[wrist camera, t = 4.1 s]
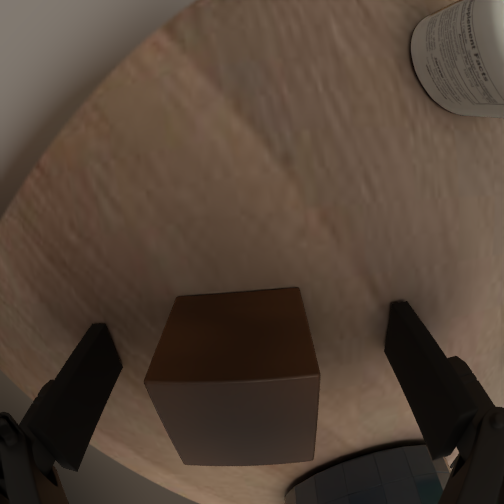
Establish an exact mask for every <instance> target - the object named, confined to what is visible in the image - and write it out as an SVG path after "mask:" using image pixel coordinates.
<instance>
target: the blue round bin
mask: <svg viewBox="0 0 504 504" xmlns="http://www.w3.org/2000/svg"><path fill="white" fill-rule="evenodd" d="M450 474H451V470H450V467H449V465H448V462H447V460H446V458H445V457H443V458H440V459H437V460H434V461H433V460H432V457H431V455H430V452H429V450H428V447H427V445H416V446H404V447H399V448H393V449H387V450H382V451H378V452H374V453H370V454H366V455H363V456H360V457H357V458H354V459H351V460H348V461H345V462H342V463H340V464H337V465H335V466H332V467H330V468H328V469H326V470H324V471H322V472H320V473H317V474H315V475H313V476H311V477H310V478H308V479H306V480H305V481H303V482H301V483H299V484H298V485H296V486H294V487H293V488H292V489H291V490H290V491H289V493H288V494H287V495H286V496H285V504H438V502H439V500H440V498H441V495H442V493H443V491H444V488H445V486H446V484H447V481H448V479H449V476H450Z"/></svg>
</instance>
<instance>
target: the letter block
mask: <svg viewBox="0 0 504 504" xmlns="http://www.w3.org/2000/svg"><path fill="white" fill-rule="evenodd" d="M144 384H145V386H146V389H147V391H148V393H149V395H150V398H151V400H152V402H153V404H154V406H155V408H156V411H157V413H158V415H159V417H160V419H161V421H162V423H163V425H164V427H165V429H166V431H167V433H168V435H169V437H170V439H171V441H172V443H173V445H174V447H175V448H176V450H177V452H178V454H179V456H180V458H181V459H182V461H183V463H184V464H185V465H200V466H254V465H273V464H286V463H296V462H306V461H312V460H313V459H314V451H315V441H316V430H317V418H318V405H319V391H320V370H319V366H318V362H317V358H316V353H315V349H314V345H313V341H312V337H311V333H310V329H309V325H308V321H307V317H306V313H305V309H304V305H303V301H302V297H301V293H300V290H299V288H287V289H276V290H264V291H252V292H239V293H226V294H212V295H197V296H181V297H177V298H176V300H175V303H174V305H173V308H172V310H171V313H170V315H169V317H168V320H167V322H166V325H165V328H164V330H163V333H162V335H161V338H160V340H159V343H158V345H157V348H156V350H155V353H154V356H153V358H152V361H151V364H150V366H149V369H148V372H147V374H146V377H145V380H144Z"/></svg>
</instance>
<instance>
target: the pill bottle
mask: <svg viewBox="0 0 504 504" xmlns="http://www.w3.org/2000/svg"><path fill="white" fill-rule="evenodd" d="M411 55H412V60H413V64H414V68H415V71H416V74H417V76H418V78H419V80H420V82H421V84H422V85H423V87H424V89H425V90H426V91H427V93H428V94H429V95H430V97H431V98H432V99H433V100H434V101H435V102H436V103H438V104H439V105H440V106H442V107H443V108H445V109H446V110H448V111H450V112H452V113H455V114H458V115H462V116H478V117H493V118H504V0H459V1H457V2H454V3H452V4H450V5H449V6H447V7H444V8H443V9H440V10H438V11H437V12H435V13H433V14H431V15H429V16H427V17H426V18H424V19H423V20H422V21H420V22H419V23H418V25H417V26H416V28H415V30H414V32H413V35H412V40H411Z"/></svg>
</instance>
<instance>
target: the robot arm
mask: <svg viewBox="0 0 504 504" xmlns="http://www.w3.org/2000/svg"><path fill="white" fill-rule="evenodd" d="M384 352H385V354H386V356H387V358H388V360H389V362H390V364H391V366H392V368H393V370H394V373H395V375H396V377H397V379H398V381H399V383H400V385H401V388H402V390H403V392H404V394H405V396H406V398H407V401H408V403H409V405H410V407H411V410H412V412H413V414H414V417H415V419H416V421H417V423H418V426H419V428H420V430H421V433H422V435H423V438H424V440H425V442H426V445H427V447H428V450H429V452H430V455H431V457H432V460H433V461H434V460H437V459H440V458H443V457H446V456H448V455H451V453H452V452H453V450H454V449H455V447H457V449H458V451H459V454H458V456H457V457H456V458H455V460H454V461H453V463H452V464H451V466H450V468H452V467H453V469H452V471H451V474H450V476H449V479H448V481H447V484H446V486H445V488H444V491H443V493H442V495H441V498H440V500H439V502H438V504H496V502H497V499H498V504H504V408H502V407H495V405H494V404H493V402H492V401H491V399H490V398H489V396H488V395H487V393H486V392H485V390H484V389H483V387H482V386H481V384H480V383H479V381H477V378H476V377H475V375H474V374H473V373H472V371H471V369H470V368H469V366H468V365H467V364H466V362H464V361H463V360H461V359H460V358H459V357H457V356H454V357H450V358H447V357H446V356H445V354H444V353H443V351H442V350H441V348H440V347H439V345H438V344H437V342H436V341H435V340H434V338H433V337H432V335H431V334H430V332H429V331H428V330H427V328H426V327H425V325H424V324H423V323H422V321H421V320H420V318H419V317H418V316H417V314H416V313H415V312H414V310H413V309H412V308H411V306H410V305H409V304H408V302H407V301H406V302H400V303H393V304H392V307H391V314H390V320H389V326H388V333H387V338H386V344H385V349H384ZM122 368H123V367H122V364H121V362H120V360H119V357H118V355H117V353H116V350H115V348H114V345H113V343H112V340H111V338H110V335H109V333H108V330H107V327H106V325H105V324H92V325H91V326H90V328H89V329H88V331H87V332H86V333H85V335H84V336H83V338H82V339H81V341H80V342H79V344H78V345H77V346H76V348H75V349H74V351H73V352H72V354H71V355H70V357H69V358H68V360H67V361H66V363H65V364H64V366H63V367H62V369H61V370H60V372H59V374H58V375H57V377H56V378H55V380H50V381H49V382H48V383H46V384H45V385H44V386H43V387H42V389H41V390H40V392H39V393H38V397H36V398H35V400H34V401H33V404H31V406H30V408H29V409H28V411H27V413H26V414H25V416H24V418H23V419H22V421H21V423H20V424H19V425H18V424H17V423H16V421H15V420H14V419H13V418H12V416H11V415H10V414H9V413H6V412H1V413H0V504H69V502H68V500H67V497H66V495H65V492H64V490H63V487H62V484H61V481H60V479H59V476H58V473H57V470H56V468H55V467H54V466H53V464H54V462H55V460H56V461H57V462H58V463H59V464H60V465H61V466H62V467H63V468H66V469H69V470H73V471H78V469H79V466H80V464H81V461H82V459H83V456H84V454H85V451H86V449H87V447H88V444H89V442H90V439H91V437H92V435H93V432H94V430H95V428H96V425H97V423H98V421H99V418H100V416H101V414H102V412H103V409H104V407H105V405H106V403H107V400H108V398H109V396H110V394H111V392H112V389H113V387H114V385H115V383H116V381H117V379H118V377H119V374H120V372H121V370H122ZM498 495H499V496H498Z"/></svg>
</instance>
